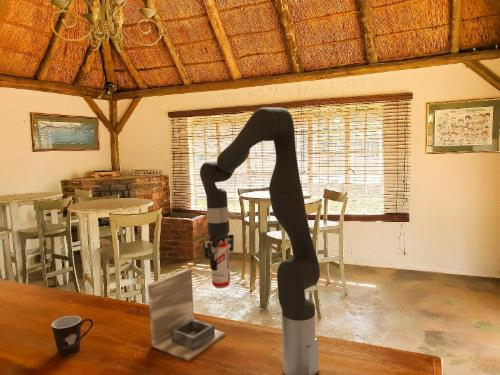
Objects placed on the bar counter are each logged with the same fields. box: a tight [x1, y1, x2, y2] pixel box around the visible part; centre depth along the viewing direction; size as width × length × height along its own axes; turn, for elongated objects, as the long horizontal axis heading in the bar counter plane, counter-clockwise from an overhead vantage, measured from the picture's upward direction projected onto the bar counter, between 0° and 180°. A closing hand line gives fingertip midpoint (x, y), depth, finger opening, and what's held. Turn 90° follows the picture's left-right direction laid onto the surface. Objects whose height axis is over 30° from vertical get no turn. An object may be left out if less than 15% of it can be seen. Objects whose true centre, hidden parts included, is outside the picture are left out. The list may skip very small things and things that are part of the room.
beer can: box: [210, 241, 231, 289], centre depth 136 cm, size 6×6×16 cm
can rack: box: [147, 267, 226, 362], centre depth 129 cm, size 16×18×21 cm
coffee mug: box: [50, 315, 94, 357], centre depth 126 cm, size 12×9×10 cm
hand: (220, 267), depth 136 cm, fingers closed on beer can, 6 cm apart
